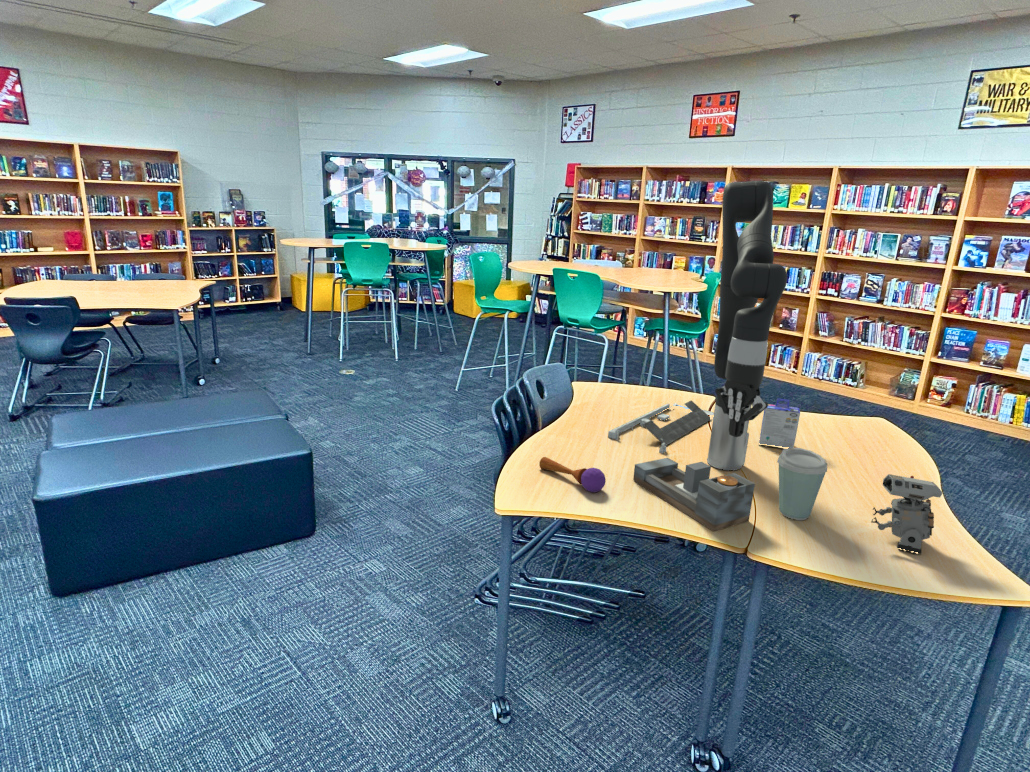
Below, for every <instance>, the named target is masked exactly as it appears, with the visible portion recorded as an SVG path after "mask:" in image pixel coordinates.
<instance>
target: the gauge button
mask: <svg viewBox="0 0 1030 772" xmlns="http://www.w3.org/2000/svg"><path fill="white" fill-rule="evenodd" d="M724 475H725V474H722V475H719V476H717V477H718V478H717V484H719V485H721V486H723V487H725V488H727V489H730V488H734V487H737V485H738V480H737V479H736V478H734V477H731V476H724Z"/></svg>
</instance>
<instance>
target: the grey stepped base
mask: <svg viewBox="0 0 1030 772" xmlns="http://www.w3.org/2000/svg"><path fill="white" fill-rule="evenodd" d="M723 475H724V476H731V477H734V478H736V479H737V480H738V485H737V487H734V488H730V489H727V488H725V487H723V486H721V485H719V484H717V478H718V477H719V476H715V477H711V478H709V479H706V480H702V481H699V488H698V495H697V501H696V500H694V499H693V498H691V497H689V496H688V495H686V494H684V493H683V492H681V491H679V490H678V489H676V488H675V485H678V484H682V483H684V477H685V471H684V470H682V469H680V468H679V463H678V462H676V461H675V460H673V459H672V458H669V457H663V458H659V459H655V460H649V461H644V462H640V463H635V464H634V471H633V478H632V481H633V482H636V483H637V484H638V485H640V486H642V487H643V488H644V489H646V490H648V491H649V492H650V493H653V494H654V495H656V496H657V497H659V498H661V500H664V501H665V502H667V503H668V504H670V505H671V506H673V507H674V508H675V509H677V510H679V511H681V513H682V512H683V513H684V514H686V515H687V516H689V517H691V518H692V519H693V520H695V521H696V522H699V524H701V525H703V526H704V525H705V527H706V528H707V529H709V528H710V529H709V530H711V531H712V530H713V531H712V532H716V531H715V530H717V531H719V530H724V529H726V527H727V528H730V527H733V525H734V526H737V525H739V524H740V523H741V524H744V523H747V521H748V522H749V521H750V516H751V510H752V503H753V498H754V492H755V486H756V483H755V482H753V481H751V480H749V479H747V478H745V477H743V475H742V476H741V475H739V474H737V473H735V472H733V473H729V474H723ZM723 528H724V529H723Z"/></svg>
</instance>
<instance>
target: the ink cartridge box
mask: <svg viewBox="0 0 1030 772" xmlns="http://www.w3.org/2000/svg"><path fill="white" fill-rule="evenodd" d="M790 401H791V399H786V398H779V397H776V403H775V404H769V403H768V407H767V408H766V409H765V410H764V411H763V415H762V416H763V417H762V421H761V428H760V435H759V439H760V440H759V439H758V444H759V443H760V444H767V445H775V446H782V447H789V448H795V443H796V437H797V431H798V427H799V421H800V415H801V410H800V408H799V407H794V406H790ZM780 402H785V403H780Z"/></svg>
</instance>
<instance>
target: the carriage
mask: <svg viewBox="0 0 1030 772" xmlns="http://www.w3.org/2000/svg"><path fill="white" fill-rule="evenodd" d="M711 469H712V466H711V465H710V464H708V463H705V462H703V461H699V462H694V463H693V462H692V463H689V464H685V469H684V470H685V471H684V472H685V477H684V483H682V484H678V485H675V488H676V489H678V490H679V491H681V492H683V493H684V494H686V495H688V496H689V497H691V498H693V499H694V500H696V501H697V495H698V488H699V481H702V480H706V479H710V475H711Z"/></svg>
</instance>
